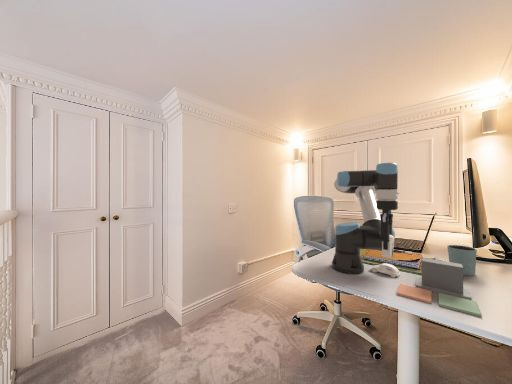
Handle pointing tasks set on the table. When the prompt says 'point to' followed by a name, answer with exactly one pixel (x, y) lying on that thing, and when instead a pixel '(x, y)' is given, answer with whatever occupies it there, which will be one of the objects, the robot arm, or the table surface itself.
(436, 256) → the electrical switch
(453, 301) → the pad sage
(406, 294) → the pad terracotta
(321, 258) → the table surface
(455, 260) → the teal cup
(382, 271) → the car
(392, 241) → the milkshake
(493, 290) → the table surface
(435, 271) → the block
